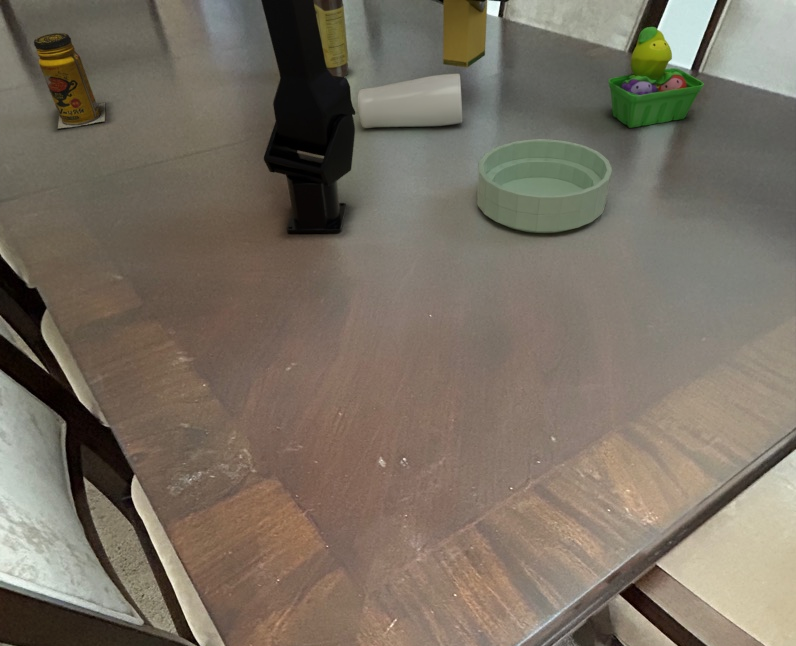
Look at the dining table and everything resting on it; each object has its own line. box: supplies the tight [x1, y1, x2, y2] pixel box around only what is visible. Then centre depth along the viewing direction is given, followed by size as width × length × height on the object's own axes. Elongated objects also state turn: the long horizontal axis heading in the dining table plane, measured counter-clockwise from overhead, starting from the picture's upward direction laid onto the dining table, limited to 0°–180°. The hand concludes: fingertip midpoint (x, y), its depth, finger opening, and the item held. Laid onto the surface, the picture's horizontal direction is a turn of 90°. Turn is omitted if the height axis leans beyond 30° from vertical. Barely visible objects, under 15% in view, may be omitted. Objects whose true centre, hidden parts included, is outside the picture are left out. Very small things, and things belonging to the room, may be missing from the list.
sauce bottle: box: [313, 0, 349, 77], centre depth 112 cm, size 6×6×20 cm
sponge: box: [442, 0, 488, 68], centre depth 96 cm, size 6×4×12 cm, turn 150°
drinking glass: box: [357, 72, 463, 129], centre depth 99 cm, size 7×7×15 cm
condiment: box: [33, 32, 106, 129], centre depth 105 cm, size 7×8×12 cm
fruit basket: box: [608, 26, 705, 129], centre depth 95 cm, size 11×9×11 cm
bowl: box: [476, 138, 613, 234], centre depth 80 cm, size 15×15×5 cm
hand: (469, 7), depth 96 cm, fingers closed on sponge, 4 cm apart
